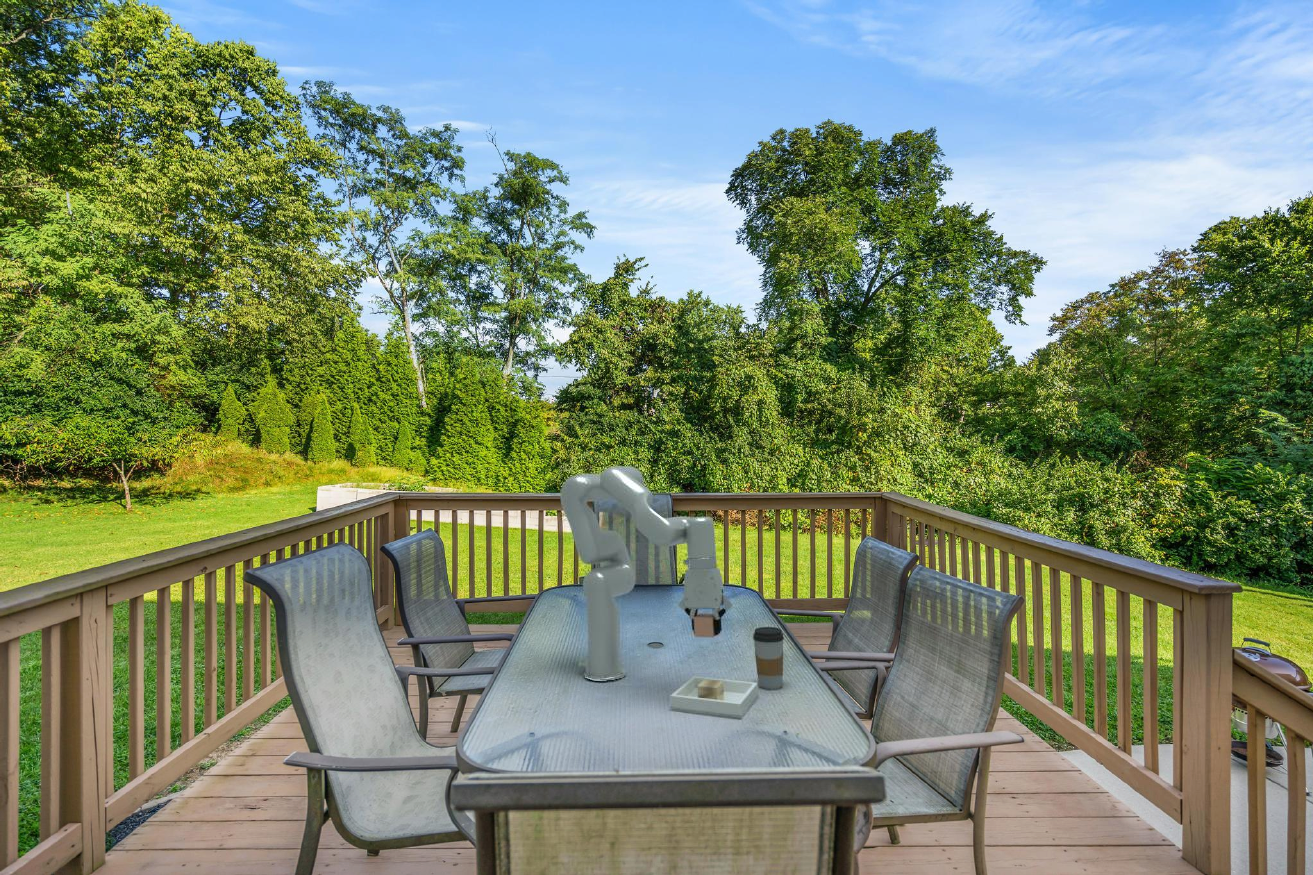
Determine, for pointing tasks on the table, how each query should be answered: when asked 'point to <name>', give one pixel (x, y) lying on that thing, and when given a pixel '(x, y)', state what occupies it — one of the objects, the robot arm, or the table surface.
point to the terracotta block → (704, 625)
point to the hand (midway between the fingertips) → (707, 633)
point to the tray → (733, 706)
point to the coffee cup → (769, 656)
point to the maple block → (711, 690)
